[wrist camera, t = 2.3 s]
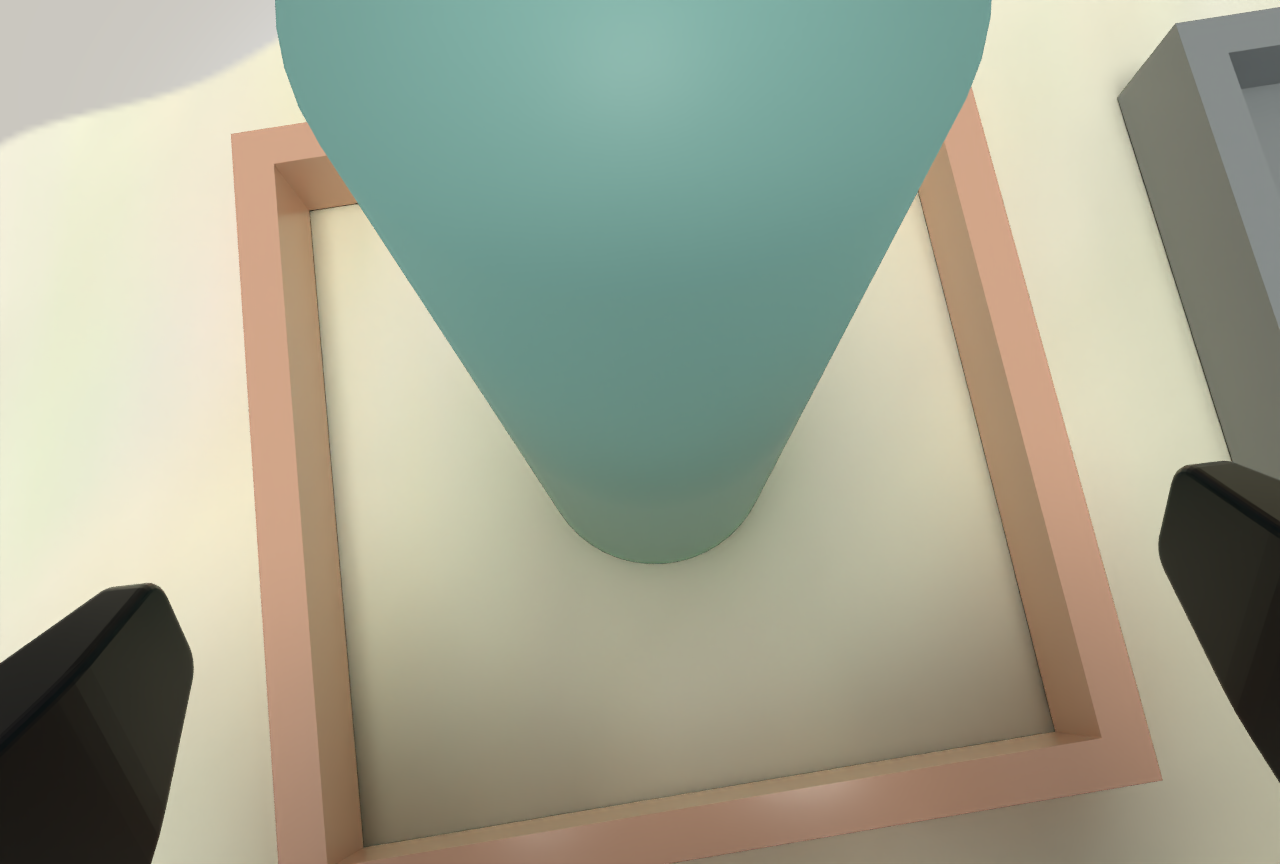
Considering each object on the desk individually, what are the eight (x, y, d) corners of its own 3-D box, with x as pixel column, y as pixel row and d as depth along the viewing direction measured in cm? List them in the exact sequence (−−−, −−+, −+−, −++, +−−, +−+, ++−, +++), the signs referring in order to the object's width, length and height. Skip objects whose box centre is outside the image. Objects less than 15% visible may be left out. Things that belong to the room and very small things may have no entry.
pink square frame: (1109, 768, 18) (1162, 780, 16) (323, 901, 18) (282, 928, 16) (927, 80, 22) (953, 21, 20) (270, 183, 21) (231, 133, 19)
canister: (794, 384, 20) (1065, -229, 6) (727, 594, 19) (883, 397, 5) (586, 318, 20) (431, -383, 7) (511, 521, 19) (156, 169, 6)
